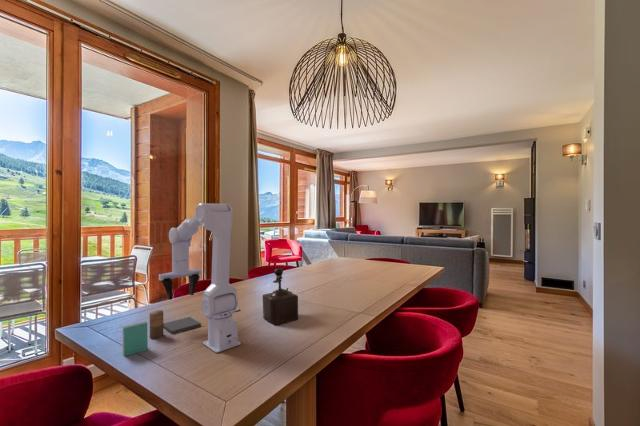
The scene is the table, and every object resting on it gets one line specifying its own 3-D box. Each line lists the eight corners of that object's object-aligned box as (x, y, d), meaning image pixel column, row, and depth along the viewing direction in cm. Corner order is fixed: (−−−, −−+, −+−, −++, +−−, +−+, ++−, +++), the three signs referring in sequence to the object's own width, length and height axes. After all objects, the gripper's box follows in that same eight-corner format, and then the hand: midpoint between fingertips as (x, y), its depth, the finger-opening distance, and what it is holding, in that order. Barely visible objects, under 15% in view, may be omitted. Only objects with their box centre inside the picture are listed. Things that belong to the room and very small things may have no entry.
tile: (147, 349, 89) (147, 322, 89) (124, 356, 84) (123, 328, 84) (146, 347, 90) (145, 321, 90) (122, 354, 85) (122, 327, 85)
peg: (165, 336, 98) (165, 312, 98) (151, 339, 95) (151, 315, 95) (161, 332, 101) (161, 309, 101) (148, 336, 98) (148, 312, 98)
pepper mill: (300, 319, 112) (300, 272, 112) (274, 326, 106) (273, 276, 106) (281, 309, 125) (280, 266, 125) (256, 314, 118) (256, 269, 119)
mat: (200, 326, 107) (200, 323, 107) (171, 334, 100) (171, 331, 100) (189, 319, 114) (189, 316, 114) (161, 326, 107) (161, 323, 107)
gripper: (195, 256, 117) (196, 291, 117) (155, 261, 107) (156, 298, 107) (203, 258, 112) (203, 294, 112) (162, 263, 102) (162, 302, 102)
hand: (181, 296), depth 109 cm, fingers open, 7 cm apart
